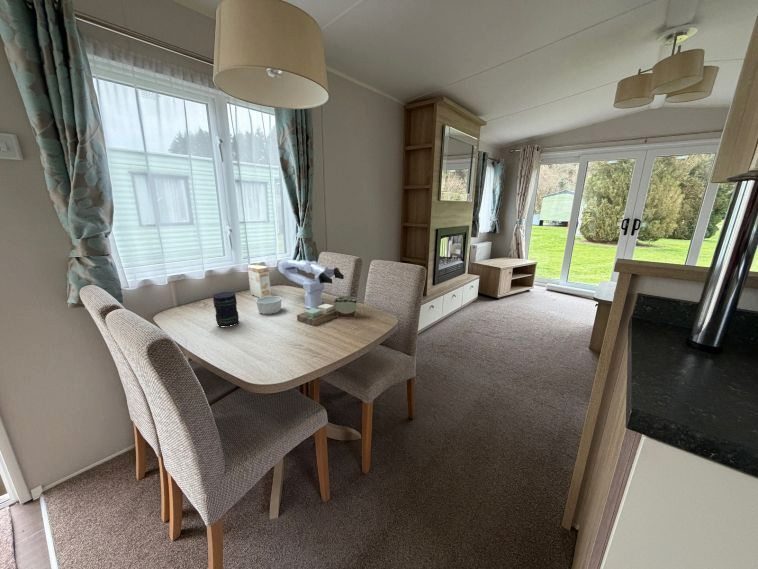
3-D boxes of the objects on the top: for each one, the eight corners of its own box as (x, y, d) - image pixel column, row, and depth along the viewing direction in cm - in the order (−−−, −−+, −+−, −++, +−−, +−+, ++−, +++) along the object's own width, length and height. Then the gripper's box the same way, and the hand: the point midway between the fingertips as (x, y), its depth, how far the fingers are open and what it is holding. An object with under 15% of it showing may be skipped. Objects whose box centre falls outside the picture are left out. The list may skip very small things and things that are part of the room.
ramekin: (277, 315, 155) (276, 303, 153) (252, 315, 155) (251, 302, 154) (285, 307, 168) (284, 295, 166) (263, 307, 168) (261, 295, 166)
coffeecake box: (271, 296, 188) (268, 266, 184) (261, 299, 183) (257, 268, 178) (260, 292, 198) (257, 264, 193) (250, 294, 193) (246, 265, 188)
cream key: (318, 310, 154) (317, 306, 154) (326, 307, 159) (325, 303, 158) (326, 313, 151) (325, 308, 150) (334, 310, 156) (334, 305, 155)
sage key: (304, 315, 147) (304, 311, 147) (313, 312, 152) (313, 308, 151) (313, 318, 144) (312, 313, 143) (321, 314, 149) (321, 310, 148)
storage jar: (234, 318, 151) (231, 290, 147) (242, 323, 144) (239, 294, 140) (213, 323, 144) (209, 294, 140) (221, 329, 137) (216, 298, 133)
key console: (297, 320, 148) (296, 315, 147) (325, 309, 163) (325, 304, 163) (313, 326, 141) (313, 320, 140) (341, 314, 157) (341, 308, 156)
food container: (359, 314, 157) (359, 296, 154) (357, 318, 151) (357, 299, 148) (337, 313, 158) (336, 295, 156) (334, 317, 152) (333, 299, 150)
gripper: (309, 268, 151) (325, 276, 143) (331, 261, 161) (347, 268, 153) (310, 280, 154) (326, 288, 146) (331, 273, 164) (348, 280, 156)
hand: (337, 279), depth 150 cm, fingers open, 7 cm apart
